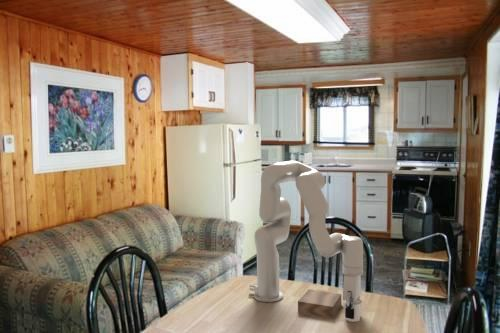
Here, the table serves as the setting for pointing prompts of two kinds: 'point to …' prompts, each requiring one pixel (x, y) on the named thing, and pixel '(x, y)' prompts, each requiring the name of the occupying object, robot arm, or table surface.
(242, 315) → the table surface
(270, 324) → the table surface
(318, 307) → the walnut block
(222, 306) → the table surface
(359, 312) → the shot glass
